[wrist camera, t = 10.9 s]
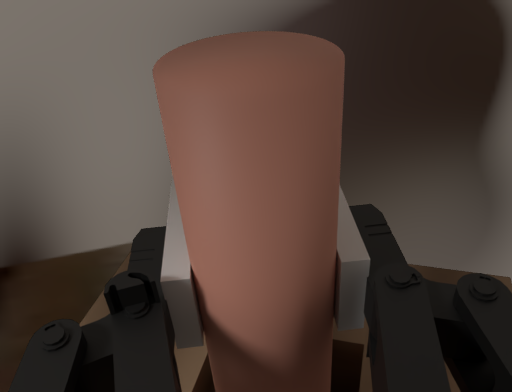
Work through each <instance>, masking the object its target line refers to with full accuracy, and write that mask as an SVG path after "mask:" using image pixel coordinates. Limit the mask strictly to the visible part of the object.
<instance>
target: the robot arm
mask: <svg viewBox="0 0 512 392" xmlns="http://www.w3.org/2000/svg"><path fill="white" fill-rule="evenodd" d="M103 294H104V297H105V299H106V302H107V305H108V308H109V311H110V314H108V315H107V316H105V317H103V318H101V319H99V320H97V321H94V322H92V323H89V324H86V325H83V326H81V327H80V325H79V323H77V322H75V321H73V320H71V319H60V320H55V321H52V322H50V323H48V324H46V325H44V326H42V327H41V328H40V329H39V330H38V331H36V332H35V333H34V335H33V336H32V338H31V340H30V341H29V343H28V346H27V348H26V350H25V353H24V355H23V358H22V360H21V362H20V365H19V367H18V370H17V372H16V374H15V377H14V379H13V381H12V384H11V386H10V389H9V391H8V392H182V390H181V384H180V378H179V373H178V367H177V362H176V358H175V354H174V346H175V342H176V346H177V349H181V348H190V347H199V346H204V329H203V324H202V319H201V314H200V309H199V304H198V299H197V294H196V289H195V283H194V278H193V273H192V268H191V263H190V260H189V255H188V250H187V244H186V239H185V234H184V229H183V224H182V219H181V214H180V209H179V204H178V199H177V194H176V189H175V184H174V179H173V174H172V182H171V190H170V199H169V208H168V217H167V226H164V227H155V228H145V229H141V230H140V232H139V233H138V234H137V235H136V237H135V238H134V239H133V243H132V248H131V254H130V259H129V264H128V269H127V271H124V272H121V273H119V274H117V275H116V276H114V277H113V278H111V279H110V280H109V282H108V283H107V284H106V286H105V289H104V293H103ZM364 318H366V321H367V324H368V327H369V336H368V345H367V354H366V357H370V368H371V379H372V390H373V392H451V389H450V384H449V380H448V376H447V372H446V368H445V363H446V365H447V367H448V368H449V370H450V372H451V374H452V376H453V378H454V380H455V382H456V384H457V386H458V387H459V389H460V391H461V392H512V293H511V291H510V290H509V289H508V287H507V286H506V285H504V284H503V283H502V282H501V281H500V280H498V279H496V278H494V277H492V276H490V275H486V274H482V273H470V274H467V275H464V276H462V277H461V278H460V279H459V280H458V281H457V285H455V284H448V283H440V282H435V281H430V280H428V279H425V278H423V276H422V274H421V273H420V272H418V271H417V270H416V269H415V268H413V267H411V266H409V265H408V264H407V262H406V260H405V258H404V256H403V254H402V252H401V250H400V248H399V246H398V244H397V242H396V240H395V238H394V236H393V234H392V232H391V230H390V228H389V226H388V225H387V222H386V220H385V218H384V216H383V214H382V213H381V212H380V211H379V210H378V209H377V208H375V207H374V206H373V205H372V204H367V205H356V206H348V204H347V201H346V199H345V197H344V194H343V192H342V189H341V187H340V184H339V205H338V228H337V250H336V273H335V296H334V319H335V322H336V326H337V330H338V331H342V330H351V329H360V328H364ZM444 361H445V363H444Z"/></svg>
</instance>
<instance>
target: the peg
mask: <svg viewBox="0 0 512 392" xmlns="http://www.w3.org/2000/svg"><path fill="white" fill-rule="evenodd" d="M344 67H345V57H344V53H343V52H342V50H341V49H340V48H339V47H338V46H336V45H335V44H333V43H331V42H329V41H327V40H325V39H322V38H318V37H315V36H311V35H306V34H301V33H293V32H282V31H255V32H254V31H253V32H240V33H232V34H225V35H219V36H214V37H209V38H205V39H201V40H197V41H194V42H191V43H188V44H186V45H183V46H180V47H178V48H176V49H174V50H172V51H170V52H168V53H167V54H165V55H164V56H162V57H161V58H160V59H159V60H158V61H157V62H156V64H155V65H154V68H153V77H154V82H155V88H156V93H157V98H158V103H159V108H160V113H161V118H162V123H163V128H164V133H165V137H166V143H167V148H168V153H169V158H170V163H171V169H172V174H173V179H174V184H175V189H176V194H177V199H178V204H179V209H180V214H181V219H182V224H183V229H184V234H185V239H186V244H187V250H188V255H189V260H190V263H191V268H192V273H193V278H194V283H195V289H196V294H197V299H198V304H199V309H200V314H201V319H202V324H203V329H204V335H205V341H206V346H207V351H208V356H209V361H210V366H211V371H212V376H213V381H214V386H215V391H216V392H330V389H331V366H332V343H333V320H334V296H335V273H336V250H337V228H338V205H339V181H340V159H341V136H342V113H343V90H344Z"/></svg>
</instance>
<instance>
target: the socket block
mask: <svg viewBox="0 0 512 392" xmlns="http://www.w3.org/2000/svg"><path fill="white" fill-rule="evenodd" d="M130 254H131V252H130V253H129V254H128V256H127V257H126V259H125V260H124V262H123V263H122V264H121V266H120V267H119V269H118V270H117V272H116V273H115V274H114V276H116V275H117V274H119V273H121V272H124V271H127V269H128V264H129V259H130ZM408 265H409V266H411V267H413V268H415V269H416V270H417V271H418V272H420V273H421V274H422V276H423V278H425V279H428V280H430V281H435V282H440V283H448V284H455V285H457V281H458V280H459V279H460V278H461V277H462V276H464V275H467V274H470V273H472V272H465V271H456V270H450V269H442V268H434V267H427V266H419V265H411V264H408ZM486 275H488V274H486ZM114 276H113V277H114ZM490 276H492V277H494V278H496V279H498V280H500V281H501V282H502V283H503V284H504V285H506V286H507V287H508V289H509V290H510V291H511V293H512V284H511V279H510V278H509V277H503V276H495V275H490ZM113 277H112V278H113ZM103 293H104V290H103V291H102V293H101V294H100V296H99V297H98V299H97V300H96V301H95V303H94V304H93V306H92V307H91V309H90V310H89V311H88V313H87V314H86V316H85V317H84V319H83V320H82V321H81V323H80V324H79V325H80V327H81V326H83V325H86V324H89V323H92V322H94V321H97V320H99V319H101V318H103V317H105V316H107V315H108V314H110V311H109V308H108V305H107V302H106V299H105V297H104V294H103ZM368 336H369V327H368V324H367V321H366V318H364V328H360V329H351V330H342V331H338V330H337V326H336V322H335V319H334V320H333V343H332V366H331V389H330V392H373V390H372V379H371V368H370V357H366V354H367V345H368ZM174 354H175V358H176V362H177V367H178V373H179V378H180V384H181V390H182V392H216V391H215V386H214V381H213V376H212V371H211V366H210V361H209V356H208V351H207V346H206V341H205V335H204V346H199V347H190V348H181V349H177V346H176V342H175V346H174ZM444 363H445V361H444ZM445 368H446V372H447V376H448V380H449V384H450V389H451V392H461V391H460V389H459V387H458V386H457V384H456V382H455V380H454V378H453V376H452V374H451V372H450V370H449V368H448V367H447V365H446V363H445Z"/></svg>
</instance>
